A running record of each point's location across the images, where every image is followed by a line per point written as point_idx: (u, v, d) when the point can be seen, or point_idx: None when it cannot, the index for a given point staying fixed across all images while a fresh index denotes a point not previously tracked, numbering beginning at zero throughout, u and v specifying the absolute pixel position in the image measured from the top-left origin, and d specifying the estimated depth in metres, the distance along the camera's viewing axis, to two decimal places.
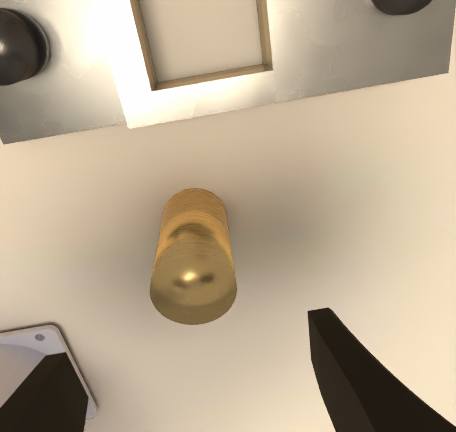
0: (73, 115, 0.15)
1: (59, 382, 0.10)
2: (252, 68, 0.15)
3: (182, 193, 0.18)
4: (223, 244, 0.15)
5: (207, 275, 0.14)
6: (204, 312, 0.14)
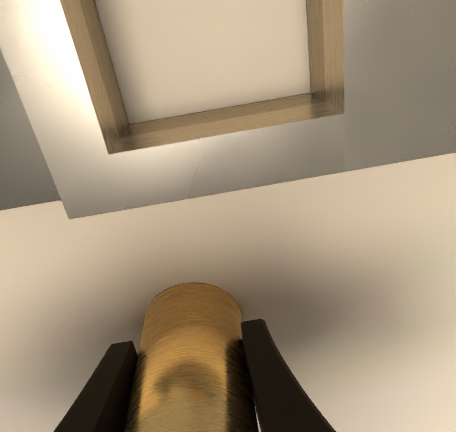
0: None
1: (129, 370, 0.10)
2: (295, 103, 0.09)
3: (173, 293, 0.11)
4: (245, 426, 0.08)
5: None
6: None
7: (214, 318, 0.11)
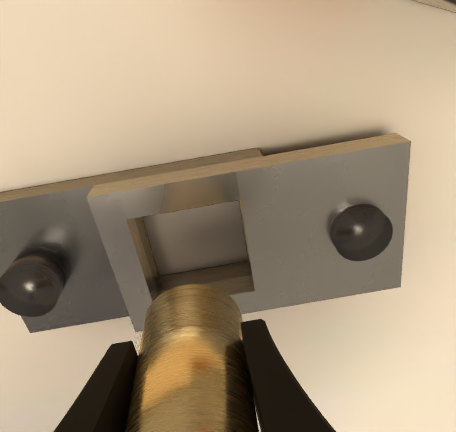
0: (89, 312, 0.18)
1: (129, 370, 0.10)
2: (238, 272, 0.18)
3: (174, 294, 0.11)
4: (245, 429, 0.08)
5: None
6: None
7: (215, 320, 0.11)
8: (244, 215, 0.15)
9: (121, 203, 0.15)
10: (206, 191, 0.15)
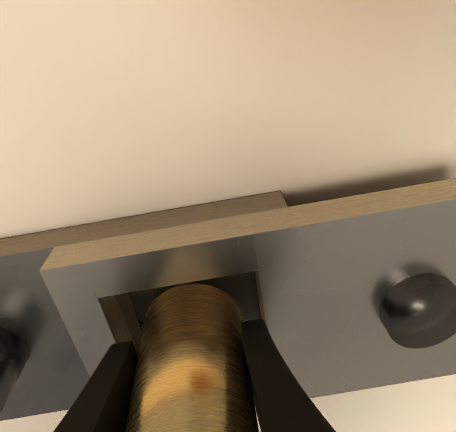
0: (56, 399, 0.14)
1: (129, 370, 0.10)
2: None
3: (174, 294, 0.11)
4: (245, 429, 0.08)
5: None
6: None
7: (215, 319, 0.11)
8: (262, 290, 0.11)
9: (90, 277, 0.10)
10: (210, 260, 0.10)
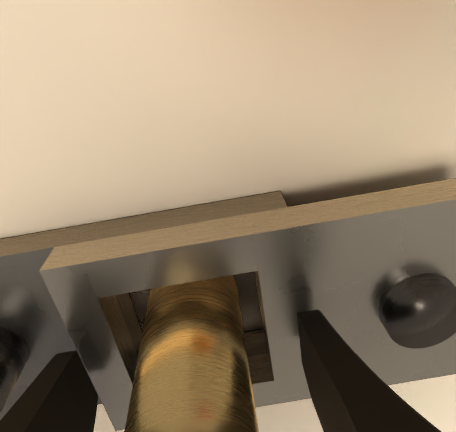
0: None
1: (70, 380, 0.10)
2: (251, 347, 0.14)
3: None
4: (239, 371, 0.09)
5: None
6: None
7: (213, 286, 0.12)
8: (262, 290, 0.11)
9: (90, 277, 0.10)
10: (210, 260, 0.10)
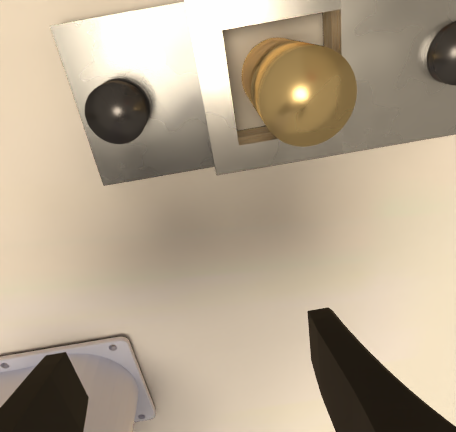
0: (165, 161, 0.18)
1: (59, 382, 0.10)
2: None
3: (267, 40, 0.17)
4: None
5: (327, 75, 0.12)
6: (316, 129, 0.13)
7: None
8: (342, 29, 0.15)
9: (218, 10, 0.14)
10: None
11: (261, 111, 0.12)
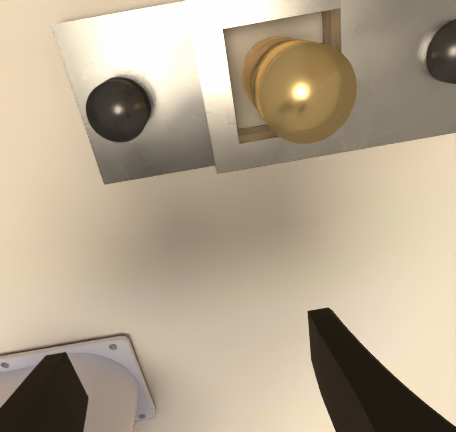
0: (166, 160, 0.18)
1: (59, 382, 0.10)
2: None
3: (267, 39, 0.17)
4: None
5: (327, 73, 0.12)
6: (316, 127, 0.13)
7: None
8: (342, 28, 0.15)
9: (219, 9, 0.14)
10: None
11: (262, 108, 0.12)
